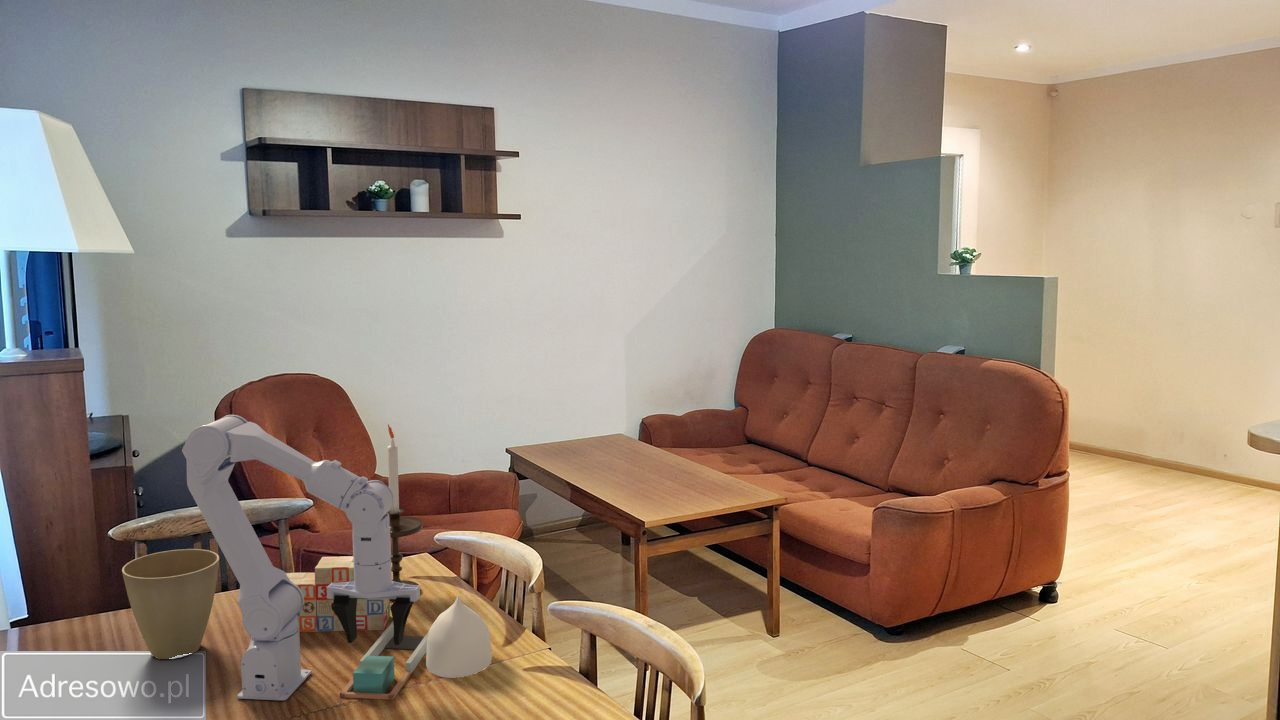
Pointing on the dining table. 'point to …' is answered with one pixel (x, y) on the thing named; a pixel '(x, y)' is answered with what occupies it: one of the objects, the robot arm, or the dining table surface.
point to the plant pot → (172, 598)
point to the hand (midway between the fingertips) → (375, 641)
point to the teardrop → (458, 643)
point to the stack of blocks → (318, 607)
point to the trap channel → (388, 643)
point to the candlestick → (398, 515)
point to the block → (374, 675)
